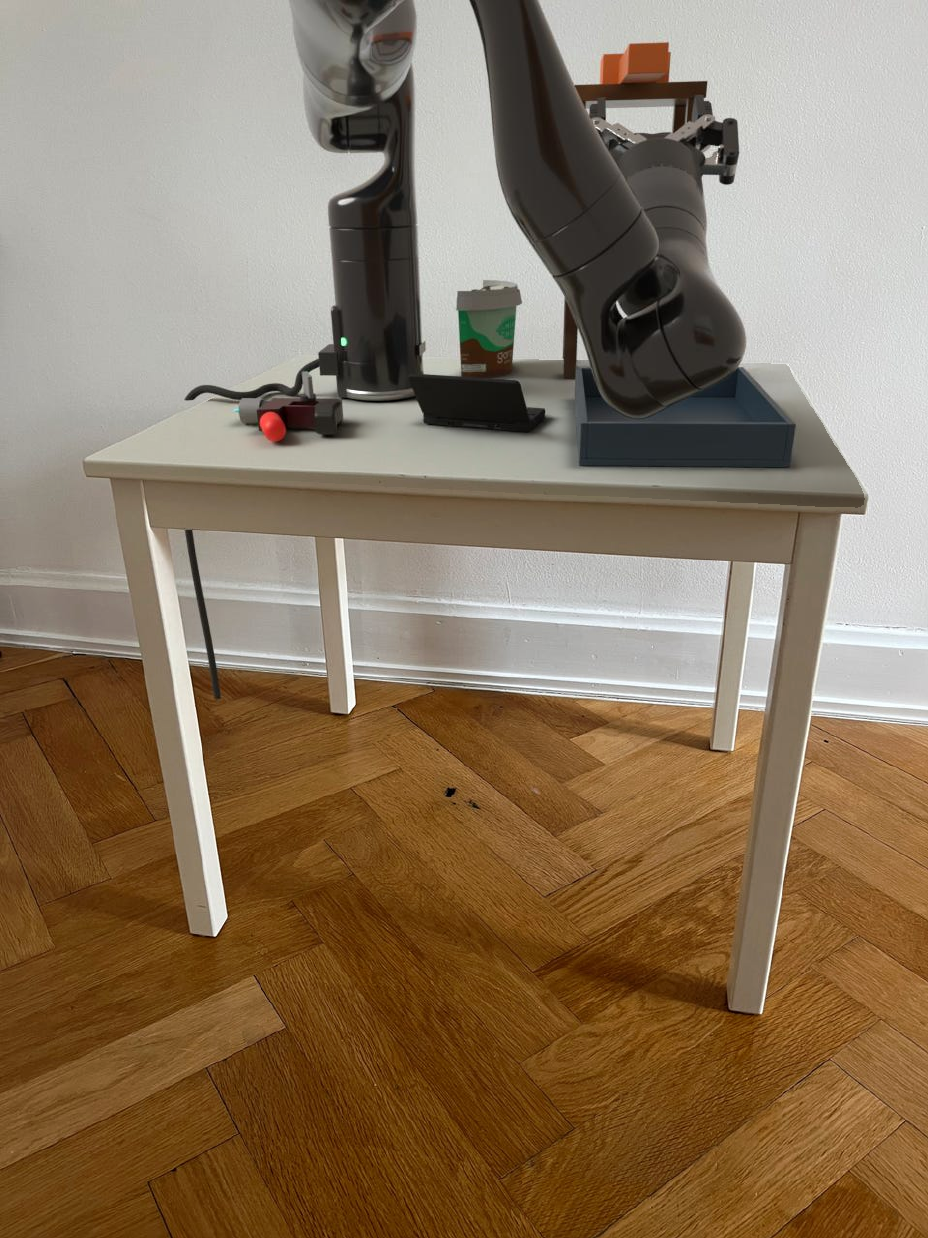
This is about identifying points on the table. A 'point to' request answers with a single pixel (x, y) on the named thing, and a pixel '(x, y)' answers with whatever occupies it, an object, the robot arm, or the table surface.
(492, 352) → the food container
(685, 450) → the tray
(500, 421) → the handheld gaming console
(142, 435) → the table surface
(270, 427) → the toy gun
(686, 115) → the brown frame
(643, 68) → the orange t-shaped block
